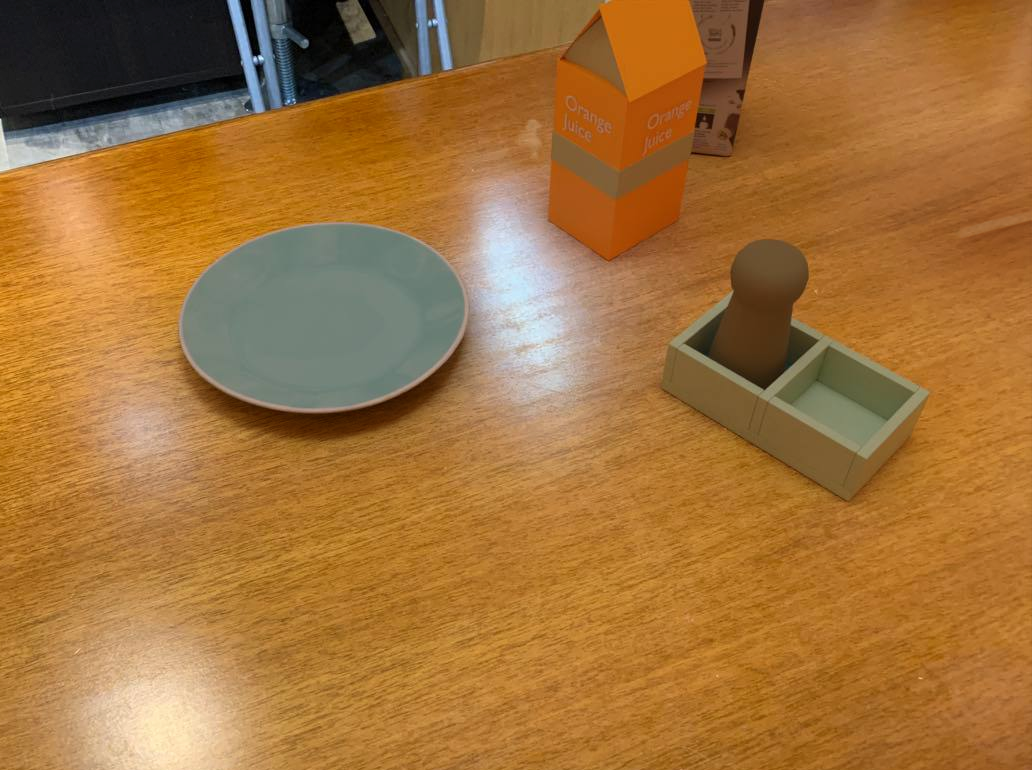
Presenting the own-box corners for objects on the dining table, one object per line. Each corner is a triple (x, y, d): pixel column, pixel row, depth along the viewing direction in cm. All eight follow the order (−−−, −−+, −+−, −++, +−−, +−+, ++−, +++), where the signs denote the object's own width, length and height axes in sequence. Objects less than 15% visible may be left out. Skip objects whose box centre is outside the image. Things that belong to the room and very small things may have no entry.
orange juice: (546, 219, 94) (559, -14, 79) (616, 180, 98) (643, -50, 82) (609, 262, 91) (638, 27, 75) (680, 220, 95) (722, -12, 79)
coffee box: (733, 158, 100) (770, -20, 88) (664, 151, 101) (690, -27, 88) (735, 104, 106) (771, -70, 93) (669, 98, 106) (695, -76, 94)
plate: (149, 293, 88) (140, 265, 86) (399, 218, 94) (397, 190, 92) (240, 478, 76) (233, 451, 74) (519, 378, 82) (520, 350, 80)
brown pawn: (758, 338, 84) (790, 217, 75) (799, 390, 80) (838, 270, 71) (688, 357, 82) (713, 237, 73) (727, 411, 79) (757, 291, 70)
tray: (910, 436, 79) (931, 392, 76) (848, 502, 75) (866, 459, 72) (726, 332, 86) (736, 286, 82) (659, 387, 82) (668, 343, 78)
